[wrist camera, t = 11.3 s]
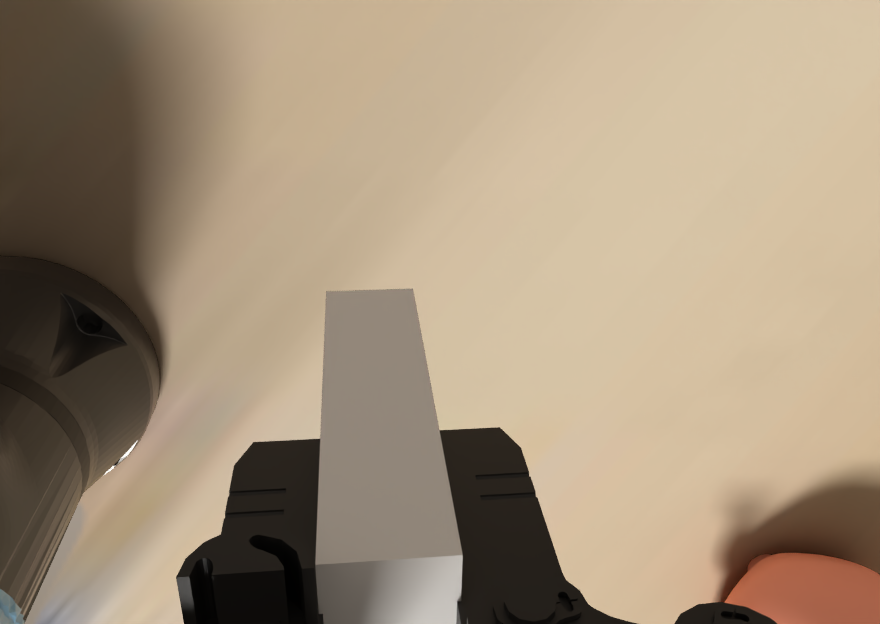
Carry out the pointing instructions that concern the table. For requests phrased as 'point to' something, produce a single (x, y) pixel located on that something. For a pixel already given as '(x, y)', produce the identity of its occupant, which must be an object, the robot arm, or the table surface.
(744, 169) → the table surface
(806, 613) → the teapot
